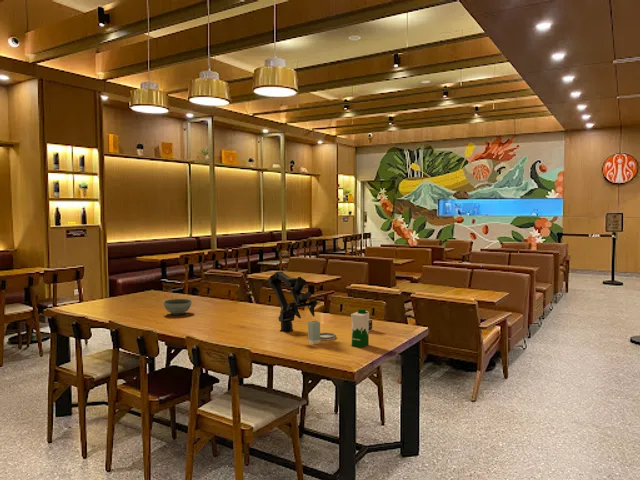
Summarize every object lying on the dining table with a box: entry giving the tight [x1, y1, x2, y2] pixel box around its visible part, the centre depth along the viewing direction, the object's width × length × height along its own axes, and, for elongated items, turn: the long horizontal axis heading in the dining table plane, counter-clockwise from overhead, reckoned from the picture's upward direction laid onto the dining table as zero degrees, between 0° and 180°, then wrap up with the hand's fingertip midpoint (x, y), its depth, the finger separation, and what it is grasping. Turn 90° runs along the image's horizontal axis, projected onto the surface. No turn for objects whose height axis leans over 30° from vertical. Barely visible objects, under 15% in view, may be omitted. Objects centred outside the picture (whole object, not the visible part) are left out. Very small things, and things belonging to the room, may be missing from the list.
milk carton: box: [350, 308, 370, 348], centre depth 272 cm, size 9×9×20 cm
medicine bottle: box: [365, 310, 373, 332], centre depth 307 cm, size 7×7×12 cm
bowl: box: [162, 298, 193, 316], centre depth 363 cm, size 21×21×10 cm
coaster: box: [320, 332, 337, 341], centre depth 290 cm, size 12×12×2 cm
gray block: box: [307, 320, 321, 345], centre depth 278 cm, size 5×5×12 cm
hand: (307, 317), depth 285 cm, fingers open, 9 cm apart
